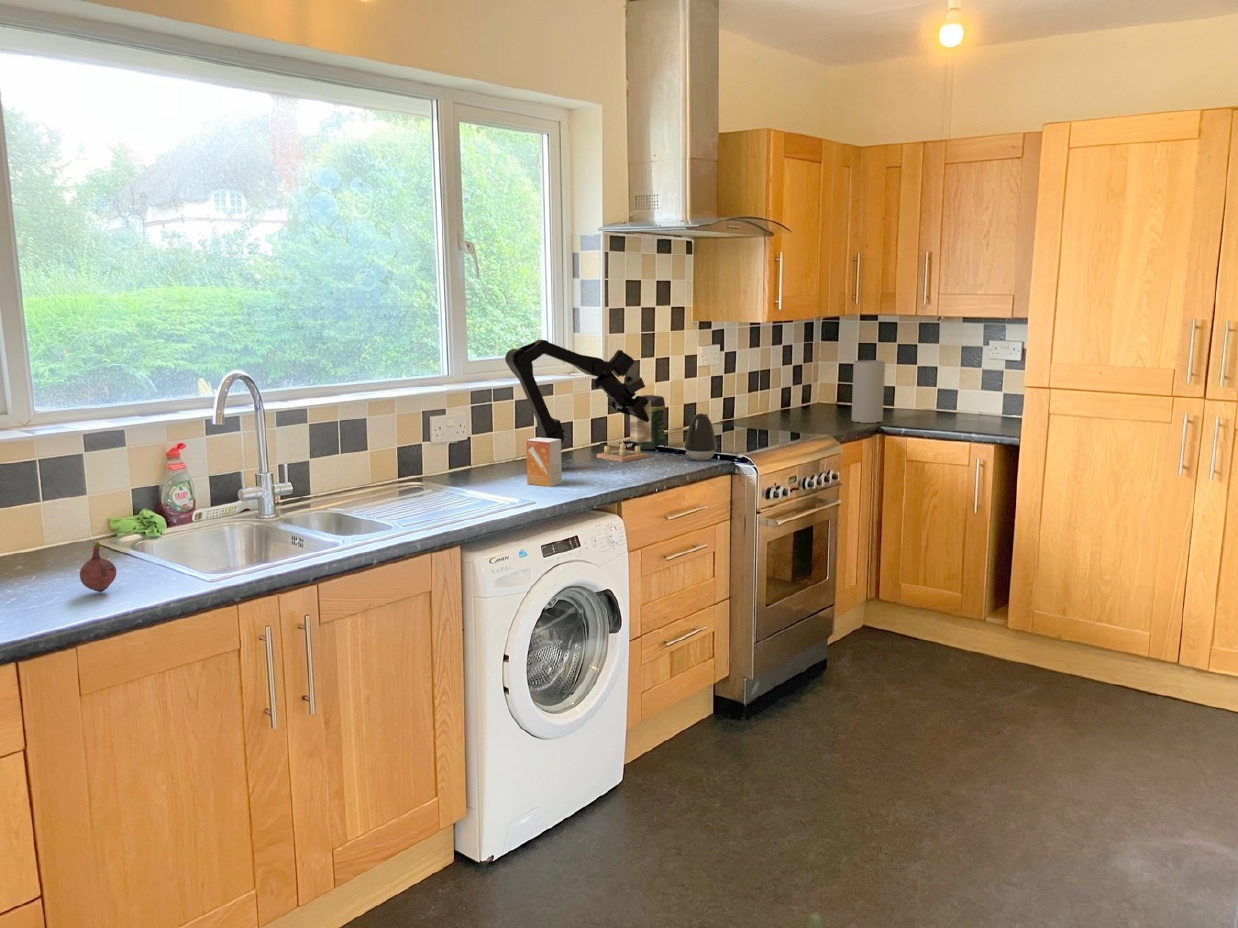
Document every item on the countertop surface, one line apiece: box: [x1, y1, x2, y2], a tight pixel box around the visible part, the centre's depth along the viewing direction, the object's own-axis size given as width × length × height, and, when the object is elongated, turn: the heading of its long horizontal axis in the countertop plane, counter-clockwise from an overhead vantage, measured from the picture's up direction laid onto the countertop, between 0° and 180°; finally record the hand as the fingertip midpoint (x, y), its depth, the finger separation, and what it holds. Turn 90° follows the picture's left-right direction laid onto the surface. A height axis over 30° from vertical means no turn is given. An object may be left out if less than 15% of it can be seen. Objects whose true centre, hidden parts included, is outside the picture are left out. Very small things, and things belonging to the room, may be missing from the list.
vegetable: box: [79, 540, 117, 593], centre depth 180 cm, size 6×6×10 cm
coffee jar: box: [636, 394, 666, 450], centre depth 339 cm, size 10×8×19 cm
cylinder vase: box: [851, 359, 886, 424], centre depth 401 cm, size 12×12×25 cm
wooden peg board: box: [596, 443, 649, 463], centre depth 322 cm, size 12×12×4 cm
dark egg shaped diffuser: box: [684, 412, 717, 462], centre depth 316 cm, size 10×10×15 cm
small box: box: [526, 436, 563, 488], centre depth 279 cm, size 8×6×13 cm
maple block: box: [629, 401, 651, 443], centre depth 312 cm, size 5×5×13 cm
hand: (644, 420), depth 312 cm, fingers closed on maple block, 5 cm apart
